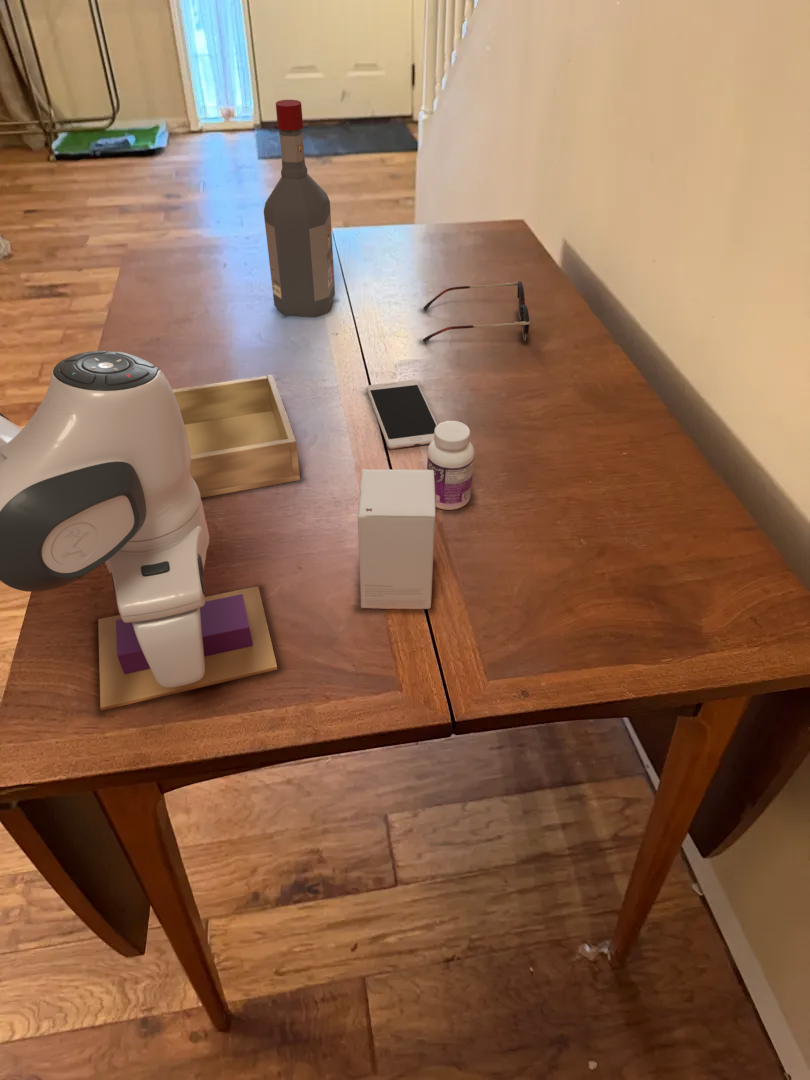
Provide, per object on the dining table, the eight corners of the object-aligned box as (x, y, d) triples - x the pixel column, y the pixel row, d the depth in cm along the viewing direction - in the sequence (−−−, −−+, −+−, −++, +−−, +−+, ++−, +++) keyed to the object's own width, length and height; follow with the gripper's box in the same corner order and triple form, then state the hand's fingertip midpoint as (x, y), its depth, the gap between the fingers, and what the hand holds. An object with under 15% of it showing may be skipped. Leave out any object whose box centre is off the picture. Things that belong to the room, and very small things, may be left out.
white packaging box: (431, 611, 79) (436, 517, 70) (359, 609, 79) (354, 516, 71) (431, 560, 84) (435, 468, 76) (363, 559, 85) (360, 466, 76)
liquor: (337, 294, 132) (326, 95, 111) (327, 319, 125) (314, 113, 105) (284, 291, 132) (264, 93, 112) (272, 315, 126) (248, 110, 105)
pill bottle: (419, 488, 94) (420, 421, 87) (459, 479, 95) (464, 412, 88) (436, 516, 90) (439, 448, 83) (477, 506, 91) (484, 438, 85)
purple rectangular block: (124, 674, 72) (116, 655, 70) (122, 638, 75) (115, 619, 74) (253, 646, 75) (249, 627, 73) (246, 612, 78) (242, 593, 76)
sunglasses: (528, 349, 119) (530, 318, 115) (423, 353, 119) (421, 323, 116) (520, 307, 129) (521, 278, 125) (423, 311, 129) (422, 282, 126)
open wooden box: (134, 510, 90) (122, 470, 86) (128, 435, 101) (117, 397, 97) (300, 480, 95) (296, 441, 91) (277, 411, 105) (272, 374, 102)
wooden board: (101, 710, 70) (100, 707, 70) (99, 622, 78) (97, 619, 77) (277, 669, 73) (277, 666, 73) (258, 589, 81) (258, 585, 81)
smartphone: (388, 446, 98) (365, 385, 109) (388, 450, 99) (365, 389, 110) (445, 439, 100) (417, 378, 110) (445, 443, 100) (417, 382, 111)
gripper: (110, 465, 72) (143, 571, 81) (118, 626, 58) (157, 732, 67) (180, 454, 73) (204, 559, 83) (204, 608, 59) (231, 714, 68)
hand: (183, 637), depth 75 cm, fingers open, 7 cm apart
